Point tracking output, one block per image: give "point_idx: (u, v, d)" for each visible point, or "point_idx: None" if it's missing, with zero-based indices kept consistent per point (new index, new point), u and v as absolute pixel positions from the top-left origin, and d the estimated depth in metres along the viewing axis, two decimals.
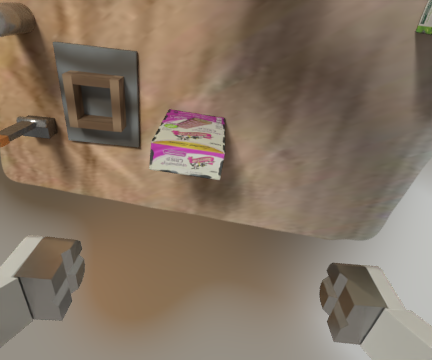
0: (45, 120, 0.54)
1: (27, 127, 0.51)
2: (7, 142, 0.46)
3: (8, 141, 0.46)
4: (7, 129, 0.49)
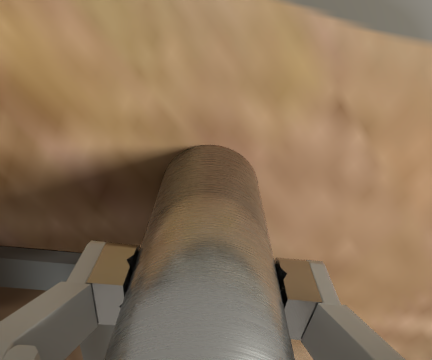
0: None
1: None
2: None
3: None
4: None
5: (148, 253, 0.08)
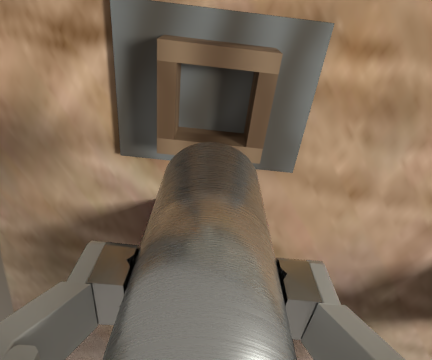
0: None
1: None
2: None
3: None
4: None
5: (149, 247, 0.08)
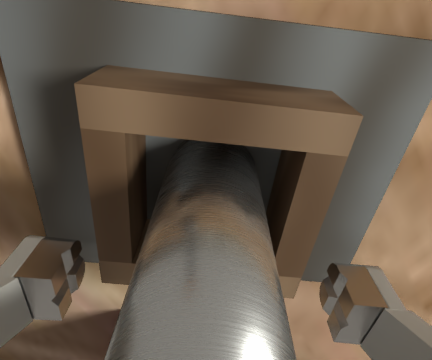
0: None
1: None
2: None
3: None
4: None
5: (157, 224, 0.09)
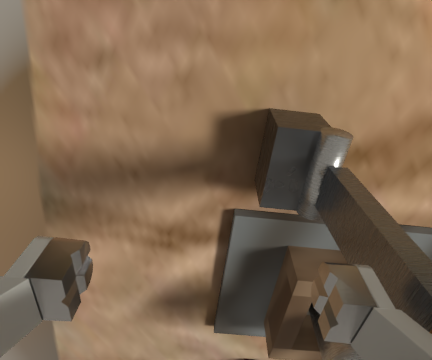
0: None
1: None
2: None
3: None
4: None
5: (342, 351, 0.19)
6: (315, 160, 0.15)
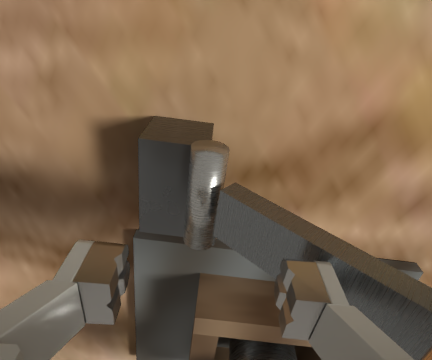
0: None
1: None
2: None
3: None
4: None
5: None
6: (189, 179, 0.13)
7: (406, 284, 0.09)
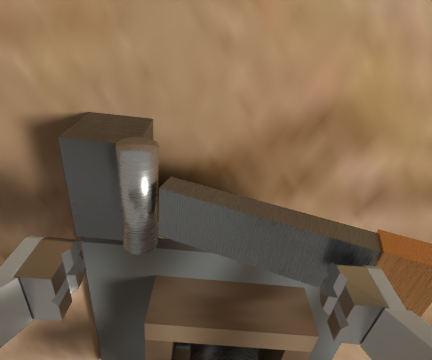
0: None
1: None
2: None
3: None
4: None
5: None
6: (118, 180, 0.12)
7: (342, 232, 0.10)
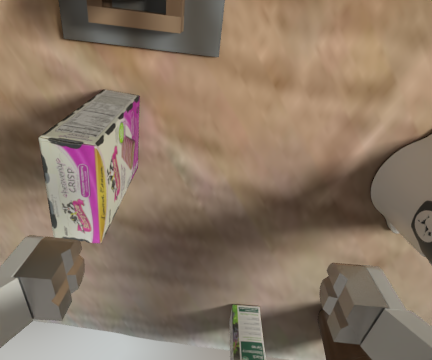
0: None
1: None
2: None
3: None
4: None
5: None
6: None
7: None
